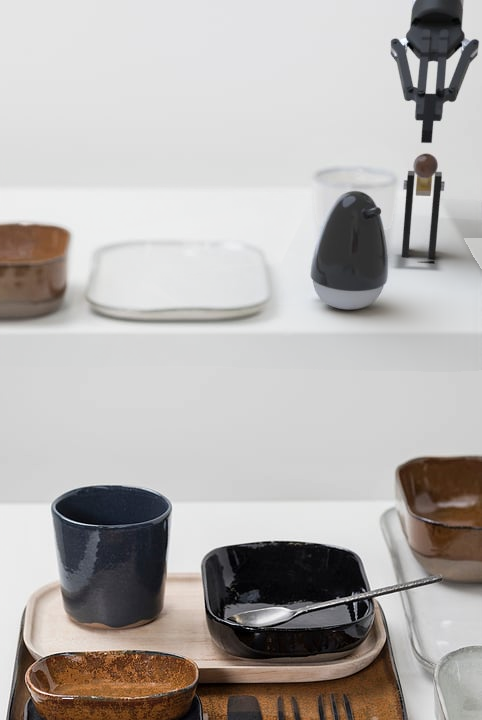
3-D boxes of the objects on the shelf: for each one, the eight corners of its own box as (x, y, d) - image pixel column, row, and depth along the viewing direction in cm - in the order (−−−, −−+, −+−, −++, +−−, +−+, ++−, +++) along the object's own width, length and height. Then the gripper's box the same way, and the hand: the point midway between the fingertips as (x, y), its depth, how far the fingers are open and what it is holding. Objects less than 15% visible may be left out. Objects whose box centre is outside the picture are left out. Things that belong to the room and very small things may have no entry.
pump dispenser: (334, 321, 140) (344, 206, 133) (294, 295, 148) (301, 185, 141) (400, 310, 144) (413, 198, 137) (357, 285, 152) (367, 178, 145)
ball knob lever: (437, 174, 152) (439, 150, 152) (412, 173, 152) (414, 149, 152) (434, 199, 164) (435, 177, 165) (411, 198, 165) (413, 176, 165)
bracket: (437, 270, 164) (445, 178, 159) (397, 269, 165) (403, 176, 160) (437, 259, 171) (445, 170, 166) (398, 257, 172) (405, 168, 167)
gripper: (480, 27, 164) (471, 154, 156) (392, 26, 167) (380, 152, 158) (484, -11, 158) (476, 120, 149) (393, -11, 160) (380, 118, 151)
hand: (426, 136), depth 154 cm, fingers closed
